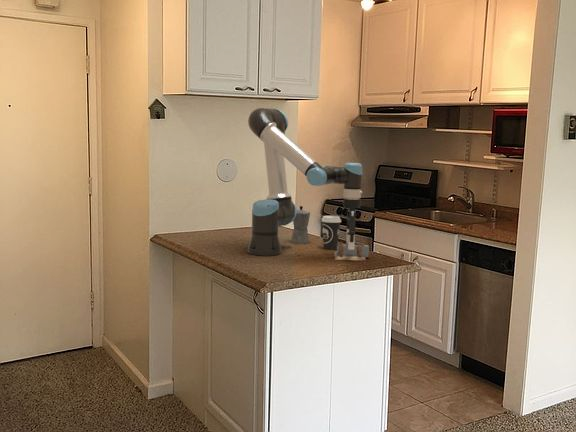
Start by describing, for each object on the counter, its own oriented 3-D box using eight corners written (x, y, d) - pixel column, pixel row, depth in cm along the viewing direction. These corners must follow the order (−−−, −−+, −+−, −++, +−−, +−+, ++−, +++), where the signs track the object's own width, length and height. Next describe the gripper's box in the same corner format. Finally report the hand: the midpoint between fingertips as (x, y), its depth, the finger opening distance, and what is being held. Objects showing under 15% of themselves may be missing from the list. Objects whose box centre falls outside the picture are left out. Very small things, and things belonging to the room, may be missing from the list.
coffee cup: (339, 250, 288) (340, 218, 286) (318, 249, 290) (319, 217, 288) (341, 246, 297) (342, 216, 295) (321, 245, 299) (322, 214, 297)
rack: (335, 259, 268) (335, 245, 267) (334, 254, 279) (334, 241, 278) (365, 260, 268) (366, 246, 267) (363, 255, 279) (364, 242, 278)
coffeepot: (314, 244, 303) (315, 207, 300) (297, 245, 299) (298, 208, 296) (300, 238, 317) (301, 203, 314) (284, 239, 313) (285, 204, 310)
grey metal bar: (336, 255, 271) (337, 245, 271) (336, 253, 276) (336, 244, 275) (368, 256, 271) (368, 247, 270) (367, 254, 275) (368, 245, 275)
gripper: (363, 202, 257) (360, 252, 260) (358, 195, 282) (356, 241, 285) (345, 201, 258) (343, 251, 261) (342, 195, 282) (340, 241, 285)
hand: (350, 246), depth 273 cm, fingers open, 13 cm apart
